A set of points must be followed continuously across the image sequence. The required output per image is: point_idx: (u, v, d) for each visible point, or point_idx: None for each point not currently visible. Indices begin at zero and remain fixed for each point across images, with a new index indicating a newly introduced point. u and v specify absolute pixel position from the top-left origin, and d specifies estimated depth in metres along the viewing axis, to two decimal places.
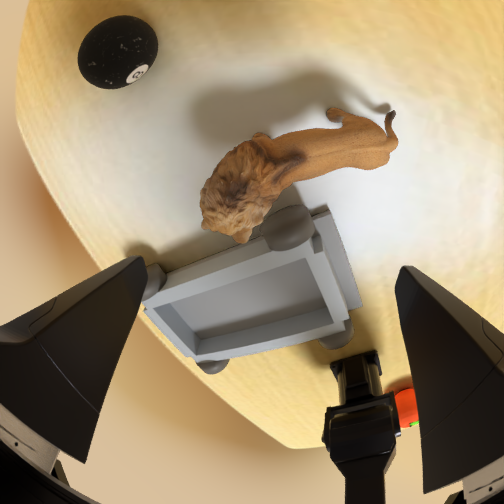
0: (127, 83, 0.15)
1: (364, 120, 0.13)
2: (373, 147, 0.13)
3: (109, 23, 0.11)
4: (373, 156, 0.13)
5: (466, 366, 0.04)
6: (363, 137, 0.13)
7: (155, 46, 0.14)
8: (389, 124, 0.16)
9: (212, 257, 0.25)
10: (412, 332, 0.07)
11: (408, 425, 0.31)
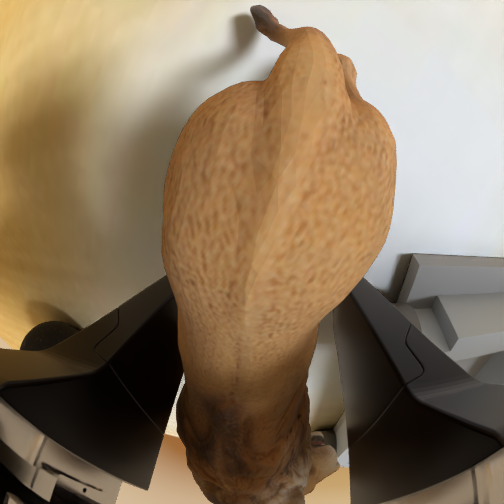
0: None
1: None
2: (260, 239, 0.02)
3: None
4: (316, 248, 0.02)
5: (379, 379, 0.04)
6: (194, 258, 0.03)
7: (58, 342, 0.12)
8: (277, 30, 0.05)
9: None
10: (340, 335, 0.07)
11: None
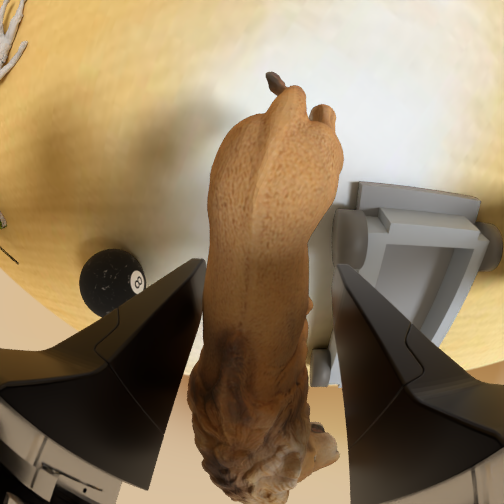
0: None
1: (216, 155, 0.06)
2: (260, 171, 0.05)
3: (82, 284, 0.19)
4: (287, 178, 0.05)
5: (380, 379, 0.04)
6: (227, 188, 0.05)
7: (121, 257, 0.20)
8: (282, 90, 0.08)
9: None
10: (340, 335, 0.07)
11: None
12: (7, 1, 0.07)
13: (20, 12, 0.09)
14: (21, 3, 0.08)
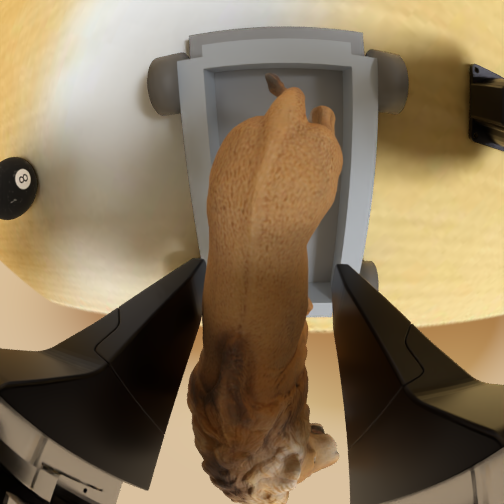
0: (24, 189, 0.17)
1: (215, 158, 0.06)
2: (259, 174, 0.05)
3: None
4: (286, 181, 0.05)
5: (379, 379, 0.04)
6: (226, 191, 0.05)
7: (15, 159, 0.16)
8: (282, 91, 0.08)
9: None
10: (340, 335, 0.07)
11: None
12: None
13: None
14: None
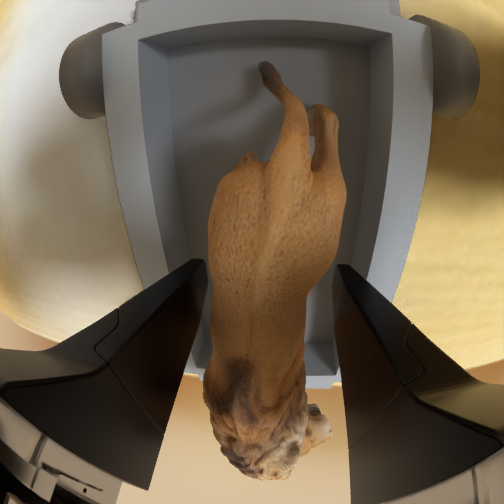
0: None
1: None
2: (262, 259, 0.05)
3: None
4: (289, 263, 0.05)
5: (380, 379, 0.04)
6: (229, 267, 0.05)
7: None
8: (278, 91, 0.07)
9: None
10: (341, 335, 0.07)
11: None
12: None
13: None
14: None
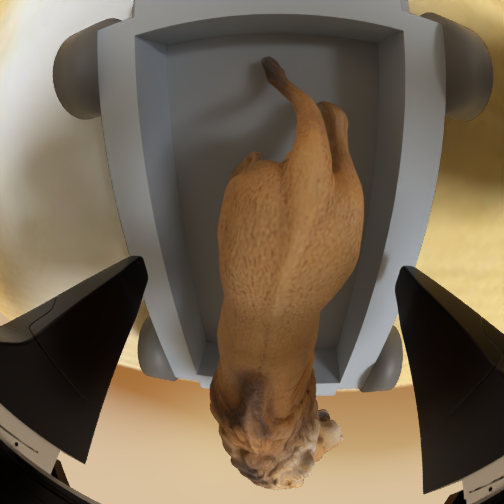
0: None
1: (221, 211, 0.06)
2: (284, 270, 0.04)
3: None
4: (312, 273, 0.04)
5: (466, 366, 0.04)
6: (246, 279, 0.05)
7: None
8: (285, 87, 0.07)
9: None
10: (412, 332, 0.07)
11: None
12: None
13: None
14: None
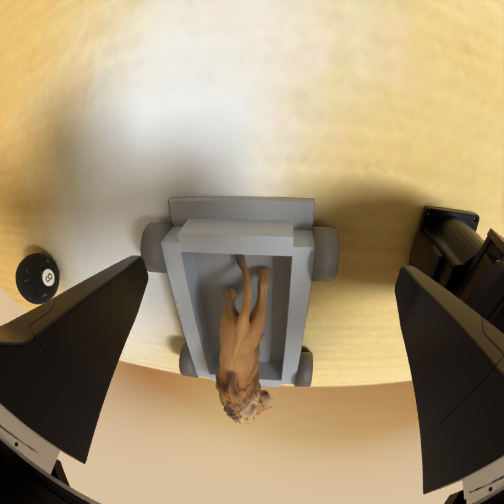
0: (51, 285, 0.25)
1: (220, 328, 0.19)
2: (235, 349, 0.18)
3: None
4: (242, 349, 0.18)
5: (466, 366, 0.04)
6: (227, 349, 0.19)
7: (38, 259, 0.24)
8: (243, 273, 0.21)
9: None
10: (412, 332, 0.07)
11: None
12: None
13: None
14: None
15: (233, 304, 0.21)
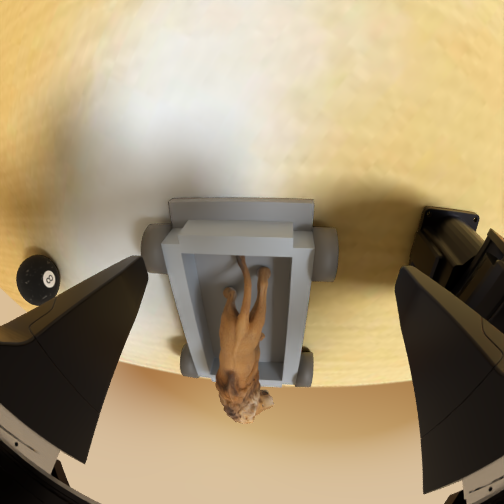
0: (52, 286, 0.25)
1: (220, 328, 0.19)
2: (235, 348, 0.18)
3: (16, 279, 0.22)
4: (242, 349, 0.18)
5: (465, 366, 0.04)
6: (226, 348, 0.19)
7: (38, 261, 0.24)
8: (243, 272, 0.21)
9: None
10: (412, 332, 0.07)
11: None
12: None
13: None
14: None
15: (233, 303, 0.21)
